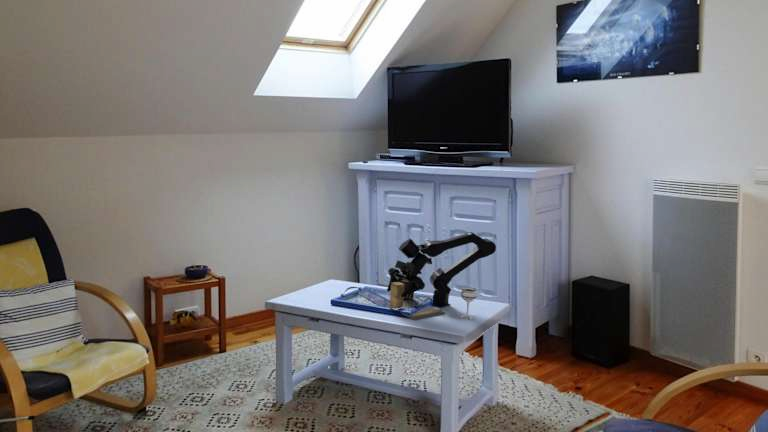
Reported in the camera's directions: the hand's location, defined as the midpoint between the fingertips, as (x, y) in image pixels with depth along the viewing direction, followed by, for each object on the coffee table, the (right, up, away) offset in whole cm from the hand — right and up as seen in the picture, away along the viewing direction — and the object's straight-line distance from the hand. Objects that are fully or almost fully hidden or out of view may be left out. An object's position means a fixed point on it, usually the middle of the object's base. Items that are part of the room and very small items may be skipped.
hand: (394, 293), depth 281 cm
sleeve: (+1, -6, +2) cm, 7 cm away
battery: (+5, -4, +17) cm, 18 cm away
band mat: (+11, -8, -2) cm, 14 cm away
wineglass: (+30, -9, -4) cm, 31 cm away
